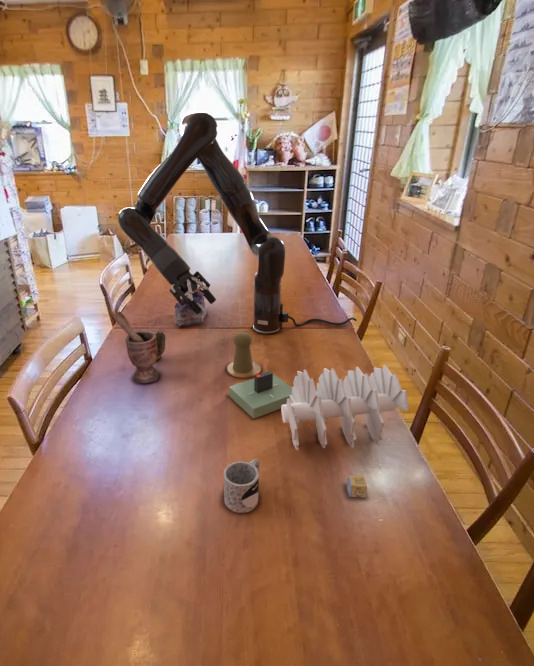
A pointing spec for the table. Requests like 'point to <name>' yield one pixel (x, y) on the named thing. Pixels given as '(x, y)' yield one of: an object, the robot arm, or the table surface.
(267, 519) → the table surface
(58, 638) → the table surface
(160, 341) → the ornate metal bell
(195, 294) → the geode
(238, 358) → the olive round-headed cylinder
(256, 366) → the coaster
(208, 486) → the table surface
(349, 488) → the alphabet block
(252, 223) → the robot arm
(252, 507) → the grey thin strip
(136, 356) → the mortar and pestle
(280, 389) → the control panel
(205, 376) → the table surface
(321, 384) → the spiral staircase
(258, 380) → the black block red tip
